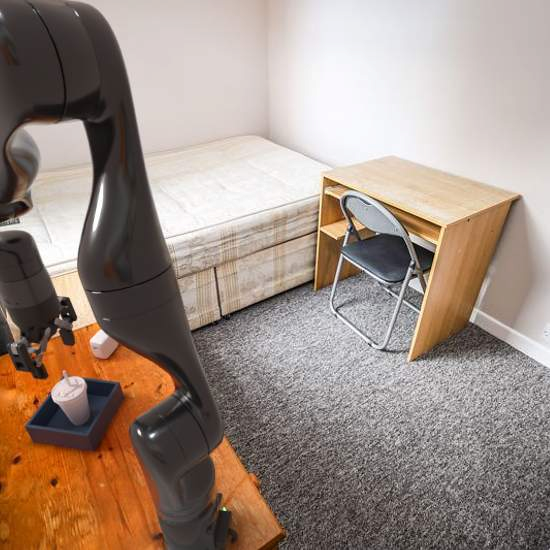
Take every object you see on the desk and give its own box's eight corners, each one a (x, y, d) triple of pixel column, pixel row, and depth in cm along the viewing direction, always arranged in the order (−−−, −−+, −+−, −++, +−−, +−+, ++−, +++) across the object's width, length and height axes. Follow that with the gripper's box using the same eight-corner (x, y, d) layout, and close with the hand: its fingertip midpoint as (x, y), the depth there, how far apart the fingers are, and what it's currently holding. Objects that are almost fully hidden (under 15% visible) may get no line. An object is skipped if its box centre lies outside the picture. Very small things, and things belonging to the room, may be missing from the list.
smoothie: (102, 406, 85) (86, 362, 77) (87, 432, 80) (69, 388, 72) (74, 403, 85) (56, 359, 78) (58, 429, 80) (36, 385, 72)
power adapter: (118, 328, 106) (113, 312, 103) (133, 332, 105) (129, 316, 102) (91, 357, 97) (85, 340, 94) (107, 361, 96) (102, 344, 93)
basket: (124, 397, 88) (119, 382, 85) (94, 451, 77) (87, 436, 74) (70, 390, 89) (63, 374, 86) (33, 442, 78) (24, 426, 75)
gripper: (20, 323, 57) (52, 393, 66) (74, 270, 69) (95, 336, 78) (-26, 317, 58) (12, 387, 67) (35, 266, 70) (60, 332, 79)
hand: (57, 360), depth 73 cm, fingers open, 8 cm apart
